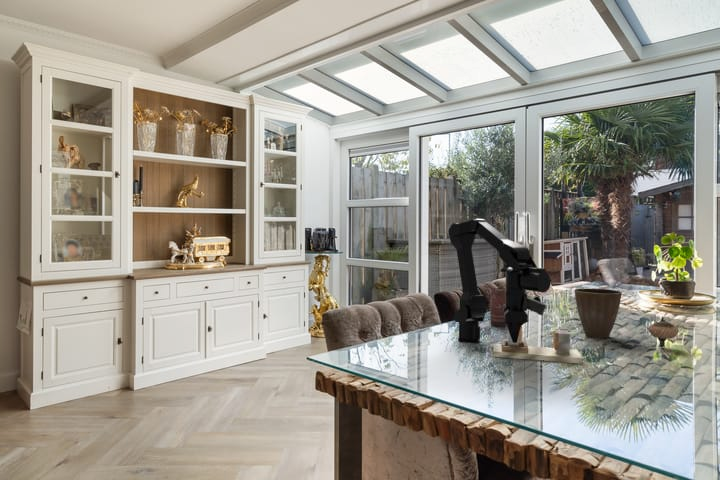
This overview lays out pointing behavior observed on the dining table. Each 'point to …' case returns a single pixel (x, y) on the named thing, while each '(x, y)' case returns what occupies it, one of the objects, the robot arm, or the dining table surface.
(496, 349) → the cream wooden stand
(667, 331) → the lidded footed bowl
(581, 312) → the plant pot
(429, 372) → the dining table surface
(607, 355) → the dining table surface
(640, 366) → the dining table surface
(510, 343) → the white wood-topped block
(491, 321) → the brown rounded cylinder
